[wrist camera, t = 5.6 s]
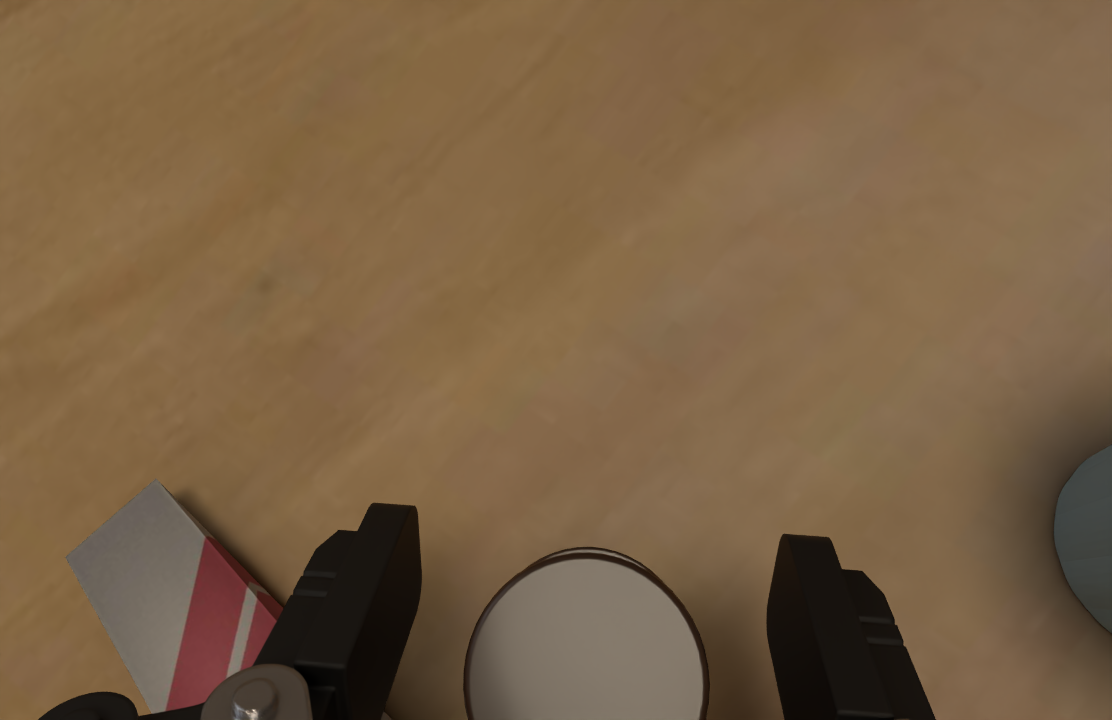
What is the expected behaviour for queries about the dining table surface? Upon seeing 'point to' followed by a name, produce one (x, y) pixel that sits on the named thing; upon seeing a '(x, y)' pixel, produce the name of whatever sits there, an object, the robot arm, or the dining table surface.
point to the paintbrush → (172, 600)
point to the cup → (1088, 534)
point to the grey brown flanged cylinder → (586, 645)
